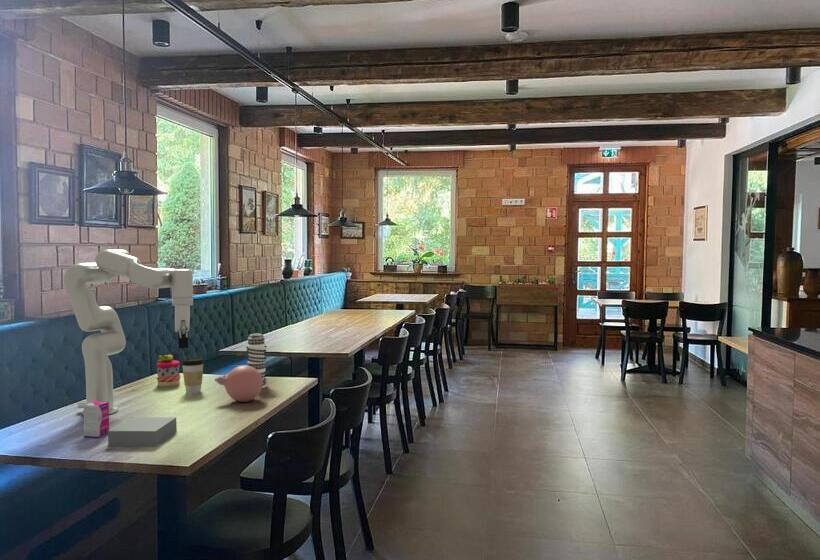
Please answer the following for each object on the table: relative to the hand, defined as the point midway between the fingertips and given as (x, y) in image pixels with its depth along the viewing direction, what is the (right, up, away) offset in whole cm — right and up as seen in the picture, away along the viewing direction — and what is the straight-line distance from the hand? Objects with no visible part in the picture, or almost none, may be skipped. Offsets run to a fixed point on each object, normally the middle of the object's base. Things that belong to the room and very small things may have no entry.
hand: (183, 346), depth 225 cm
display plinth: (-5, -29, -23) cm, 37 cm away
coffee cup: (-12, -26, +43) cm, 52 cm away
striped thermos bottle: (+14, -25, +54) cm, 61 cm away
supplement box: (-23, -29, -19) cm, 42 cm away
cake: (-29, -25, +59) cm, 71 cm away
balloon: (+14, -27, +27) cm, 40 cm away
